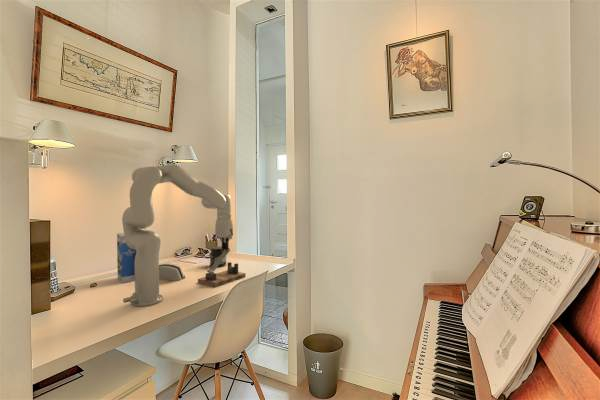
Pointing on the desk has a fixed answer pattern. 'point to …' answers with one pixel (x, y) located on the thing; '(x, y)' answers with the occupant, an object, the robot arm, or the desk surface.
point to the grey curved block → (170, 272)
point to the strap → (218, 261)
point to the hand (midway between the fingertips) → (225, 249)
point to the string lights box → (125, 260)
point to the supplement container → (217, 256)
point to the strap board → (222, 276)
